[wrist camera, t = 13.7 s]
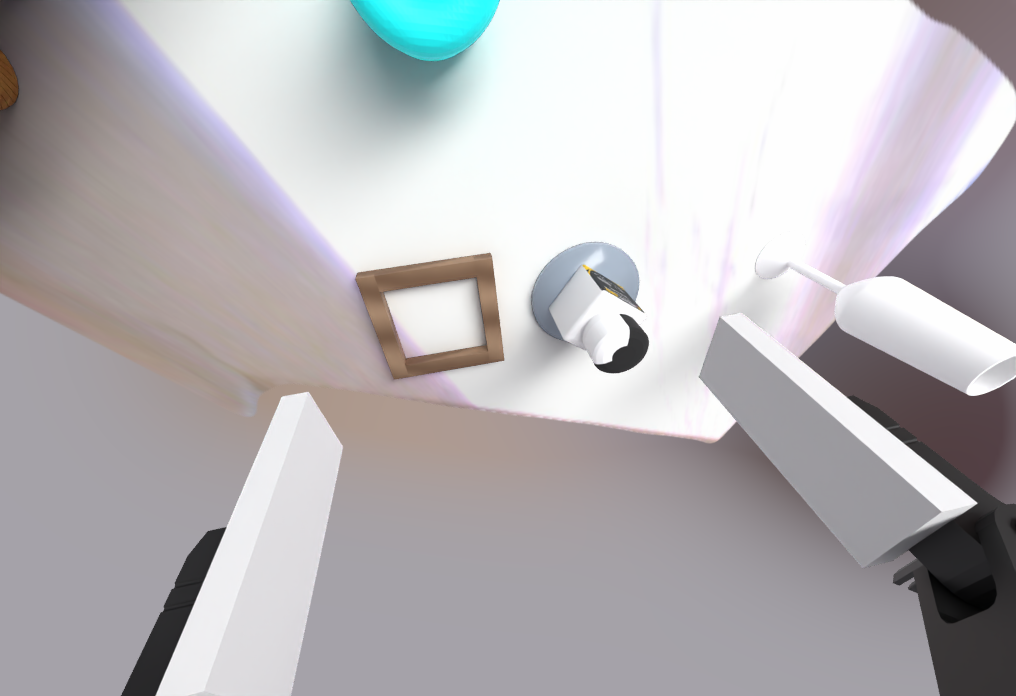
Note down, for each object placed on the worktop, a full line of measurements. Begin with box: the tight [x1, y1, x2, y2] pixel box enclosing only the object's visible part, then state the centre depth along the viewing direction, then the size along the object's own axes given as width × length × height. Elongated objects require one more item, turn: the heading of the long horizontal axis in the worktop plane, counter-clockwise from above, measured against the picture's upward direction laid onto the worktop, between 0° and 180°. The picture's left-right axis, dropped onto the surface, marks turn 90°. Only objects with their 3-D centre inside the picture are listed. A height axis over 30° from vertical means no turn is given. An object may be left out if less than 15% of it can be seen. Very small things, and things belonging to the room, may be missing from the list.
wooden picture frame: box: [356, 253, 504, 379], centre depth 45 cm, size 15×15×2 cm
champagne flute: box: [755, 232, 1016, 396], centre depth 39 cm, size 7×7×24 cm
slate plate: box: [532, 242, 639, 341], centre depth 47 cm, size 14×14×1 cm
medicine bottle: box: [549, 264, 649, 373], centre depth 42 cm, size 7×7×12 cm
